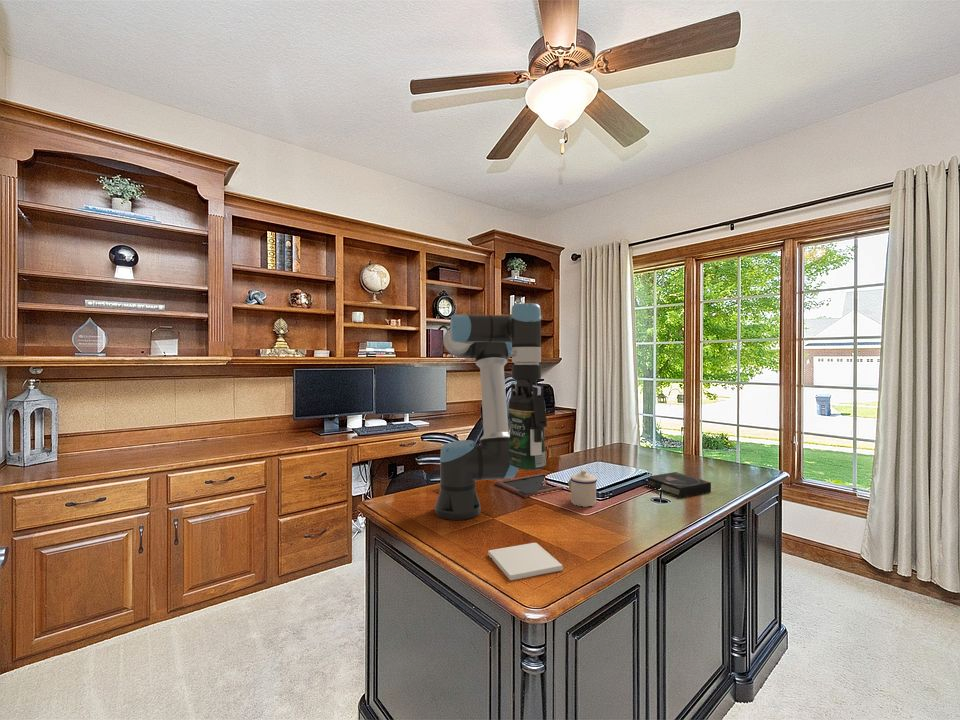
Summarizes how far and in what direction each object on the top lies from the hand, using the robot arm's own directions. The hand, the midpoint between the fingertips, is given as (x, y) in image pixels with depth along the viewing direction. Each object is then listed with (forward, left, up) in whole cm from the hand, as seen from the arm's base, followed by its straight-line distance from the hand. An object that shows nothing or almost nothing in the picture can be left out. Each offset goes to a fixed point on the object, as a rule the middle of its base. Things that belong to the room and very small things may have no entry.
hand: (526, 450), depth 114 cm
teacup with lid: (-32, +37, -28) cm, 57 cm away
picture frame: (-55, +31, -29) cm, 70 cm away
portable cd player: (-32, +82, -29) cm, 92 cm away
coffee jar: (0, 0, -4) cm, 4 cm away
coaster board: (+2, -1, -28) cm, 28 cm away
